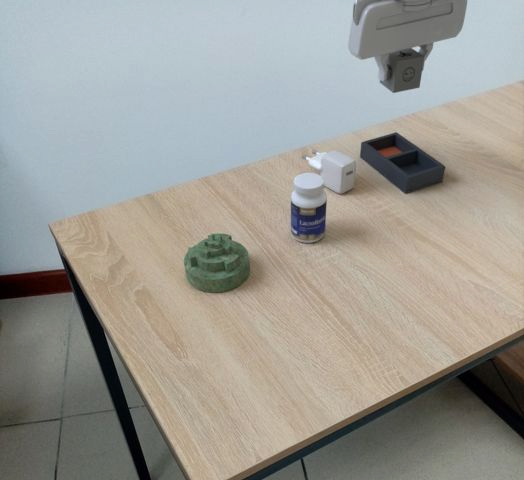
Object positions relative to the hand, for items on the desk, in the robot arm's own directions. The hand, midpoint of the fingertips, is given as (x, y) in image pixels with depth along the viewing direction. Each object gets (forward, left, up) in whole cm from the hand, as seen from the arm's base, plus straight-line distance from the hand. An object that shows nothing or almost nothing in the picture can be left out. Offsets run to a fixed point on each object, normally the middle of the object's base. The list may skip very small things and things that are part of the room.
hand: (400, 75), depth 91 cm
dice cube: (0, 0, -2) cm, 2 cm away
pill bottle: (+25, +13, -16) cm, 32 cm away
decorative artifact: (+42, +15, -16) cm, 47 cm away
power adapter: (+14, 0, -16) cm, 21 cm away
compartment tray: (0, +3, -16) cm, 16 cm away
